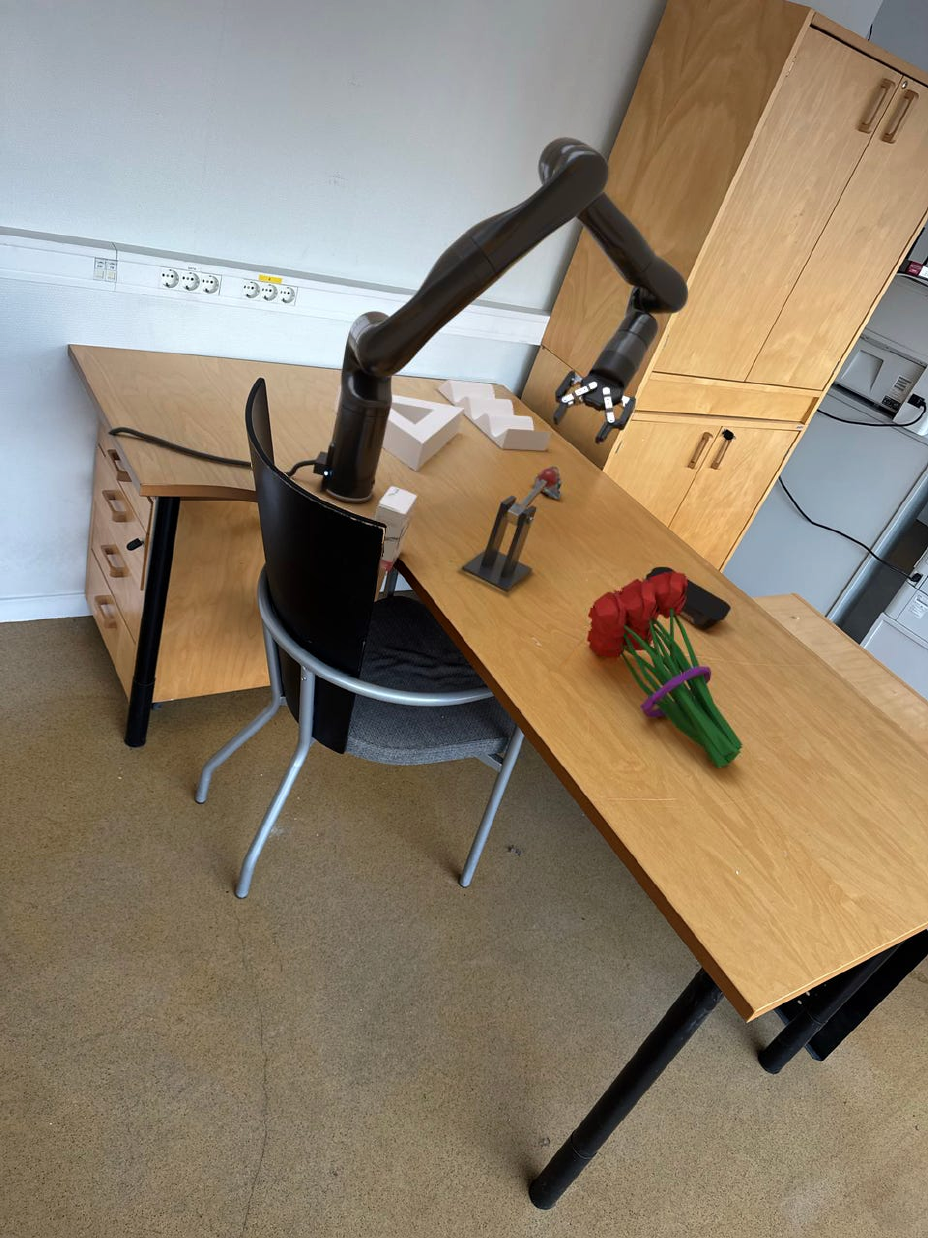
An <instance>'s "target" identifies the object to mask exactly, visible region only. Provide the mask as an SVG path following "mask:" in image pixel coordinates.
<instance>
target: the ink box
mask: <svg viewBox="0 0 928 1238" xmlns="http://www.w3.org/2000/svg"><path fill="white" fill-rule="evenodd" d="M417 499H418V494H416V493H413V492H411V491H408V490H405V489H404V488H401V487H398V486H393V485H391V486H389V488H388V489H387V490H386V492H384V495H383V496H382V497H381V498H380V499H379V501H378V504H377V506H376V511H375V513H374V518H373V521H374V520H375V521H378V522H382V523H384V524H385V525H386V526H387V528H386V534H385V541H384V553H383V557H382V560H381V568H380V569H379V570H380V571H384V572H387V573H388V572H390V570H392V567H393V566H394V564H395V562H396V561H397V559H398V558H399V556H400V554H401V552H402V549H403V546H404V543H405V540H406V536H407V533H408V529H409V526H410V522H411V519H412V516H413V512H414V510H415V506H416V502H417Z"/></svg>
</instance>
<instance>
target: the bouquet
mask: <svg viewBox="0 0 928 1238" xmlns="http://www.w3.org/2000/svg"><path fill="white" fill-rule="evenodd" d="M687 579H688V576H687V575H686V574H685V573H684V572H677V571H676V572H675V570H674V571H673V572H669V573H668V572H665V573H663V574H660V575H656V576H653V577H650V578H649V581H648V580H646V578H642V580H640V579H639V578H635V579H634V580H632V581H631V582H630V583H628V584H626V585H624V586H623V587H621V589H620V590H616V589H613V591H611V590H610V591H607V592H605V593H604V594H603V595H601V596H600V597H598V598H597V599H596V600H595V601H593V604H592V607H591V606H590V607H589V613H588V615H587V617H588V618H590V619H591V622H590V627H591V628H590V629H588V631H587V632H588V634H587V637H586V641H587V642H588V643H589V646H588V647H589V649H590V650H592V651H593V652H594V653H595V654H596V655H598V656H599V657H603V658H606V659H619V658H622V659H623V661H624V663H625V664H626V666H627V668H628V669H629V671H630V672H631V674H632V676H633V678H634V679H635V681H636V683H637V685H638V686H639V687H640V688H641V690H642V691H643V692H644V693H645V694H646V695H647V697H648V698H647V699H646V700H644V702H642V704H640V705H639V707H640V709H641V710H642V713H643V714H644V716H645V717H647V718H649V719H652V718H660V717H665V716H666V718H668V719H669V721H670V722H671V723H672V724H673V725H674V727H675V728H677V729H678V730H679V731H680V732H681V733H682V734H684V735H686V736H687V737H688V738H690V739H691V740H692V741H694V742H695V743H696V744H698V745H699V746H700V747H701V748H703V750H704V752H705V755H706V757H707V759H708V761H709V763H711V762H712V763H713V765H714V766H715V769H716V768H717V769H720V768H722V767H725V766H729V764H730V763H732V762H733V761H734V760H735V759H736V758H737V757H738V756H739V754H741V749H742V748H743V743H742V742H741V740H740V739H739V737H738V736H737V734H736V732H735V731H734V730H733V728H732V727H731V726H730V724H729V723H728V721H727V720H726V718H725V717H724V715H723V714H722V713H721V711H720V710H719V708H718V707H717V705H716V704H715V702H714V699H713V696H712V694H711V691H710V689H709V687H708V684H709V682H710V681H711V677H712V670H711V668H710V667H709V666H702V665H701V666H700V663H699V661H698V658H697V655H696V653H695V651H694V648H693V645H692V644H691V641H690V638H689V636H688V633H687V631H686V629H685V627H684V625H683V623H682V622H681V621H680V619H679V617H678V616H677V615H680V614H679V613H682V612H683V611H682V610H681V608H682V607H683V605H684V603H685V602H686V589H687ZM659 616H662V617H663V618H664V619H669V632H668V630H667V629H666V628H665V627H664V625H663V624H662V623H661V622H660V621H659V620H658V618H659ZM674 620H675V622H676V624H677V626H678V628H679V630H680V633H681V635H682V638H683V641H684V644H685V646H686V649H687V652H688V655H689V658H690V662H691V663H690V662H689V660H688V659H687V657H686V655H685V653H684V652H683V650H682V649H681V647H680V645H679V644H678V643H677V642H676V641H675V625H674V624H675V622H674ZM652 644H653V646H652ZM637 651H645V652H646V653H647V654H648V655H649V657H650V659H651V662H652V664H653V665H652V664H650V663H649V662H648V661H647V660H646V659H644V658H643V657H641V656H640V655H639V654H638V652H637ZM625 652H627V653H628V654H630V655H631V656H632V657H633V658H634V661H635V662H636V664H637V666H638V668H639V670H640V672H641V674H642V676H643V678H644V679H645V680H646V681H647V682H648V684H649V686H651V688H652V689H653V690H654V691H653V690H651V688H650V687H649V686H648V685H647V684H646V683H645V682H644V681H643V679H642V678H641V676H640V675H639V674H638V671H636V669H635V668H634V667H633V665H632V663H631V662H630V660H629V659H628V658H627V656H626V655H625V654H624V653H625ZM647 670H648V671H649V672H650V673H651V674H652V675H653V676H654V677H655V678H656V680H657V681H658V682H659V683H660V684H658V683H657V681H656V680H655V679H654V677H652V676H651V674H650V673H649V672H648V671H647ZM685 682H686V683H685ZM660 685H661V686H662V687H661V686H660ZM668 694H669V695H668ZM655 706H656V707H658V708H656V709H653V708H654V707H655Z"/></svg>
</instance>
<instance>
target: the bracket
mask: <svg viewBox="0 0 928 1238" xmlns="http://www.w3.org/2000/svg"><path fill="white" fill-rule="evenodd" d="M516 501H517V496H514V495H510V496H509V497H507V498H505V499H503V500H502V501H501V502H500V504H499V508H498V510H497V514H496V516H495V520H494V523H493V526H492V529H491V531H490V535H489V538H488V542H487V544H486V547H485V550H484V551H482V552H481V553H479V554H478V555H476V556H475V557H473V558H472V559H471V560H469V561H468V562H466V563H465V564H464V565H463V566H461V570H462V571H464V572H467V573H468V574H470V575H472V576H474V577H476V578H477V579H478V578H479V579H480V580H482V581H483V582H486V583H488V584H490V585H491V586H494V587H496V588H498V589H499V590H501V591H503V592H505V593H508V591H510V590H511V589H512V588H513V587H514V586H516V585H517V584H518V583H519V582H520V581H521V580H523V579H524V578H525V577H526V576H527V575H529V574H530V573H531V572H532V570H533V568H532V567H531V566H529V565H527V564H524V563H523V562H521V561H520V557H521V554H522V552H523V549H524V546H525V543H526V540H527V538H528V534H529V531H530V529H531V526H532V523H533V522H534V517H535V515H536V512H537V509H538V506H536V505H533V504H530V505H529V506H528V507H527V508H526V510H524V511H523V512H522V513H521V516H520V519H519V522H518V525H517V526H516V528H515V531H514V533H513V536H512V540H511V542H510V546H509V549H508V551H507V554H505V553H502V552H500V548H501V546H502V544H503V543H502V542H503V540H504V537H505V534H506V532H507V529H508V526H509V522H507V521H506V517H507V512H508V510H509V509H510V507H511V506H512V505H513V504H514V503H515V502H516Z"/></svg>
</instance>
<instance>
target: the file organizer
mask: <svg viewBox="0 0 928 1238" xmlns="http://www.w3.org/2000/svg"><path fill="white" fill-rule="evenodd" d="M437 390H438V392H439V393H441V394H442V395H443V397H445V398H446V399H447V400H448V401H449V402H450V403H451V404H452V405H453V406H456V407H461V408H465V409H464V413H463V415H464V416H466V418H467V419H469V420H470V421H471V422H472V423H473V424H474V425H475V426H477V428H479V430H480V431H482V432H483V433H484V434H485V435H486V436H487V437H489V438H490V440H492V442H494V443H495V444H496V445H497V446H498V447H499V448H500V449H501V450H502V449H504V450H522V451H542V452H543V451H545V452H546V450H547V448H548V445H549V442H550V439H551V436H552V433H553V431H552V430H537V429H535V427H534V421H533V418H532V416H530V415H518V414H517V415H515V413H514V412H515V411H514V406H513V401H512V400H511V399H507V398H496V397H495V391H494V386H493V384H492V383H485V382H475V381H463V380H454V379H447V380H445V381H444V382H442V384H441V385H440V386H439V387H438V388H437Z"/></svg>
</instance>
